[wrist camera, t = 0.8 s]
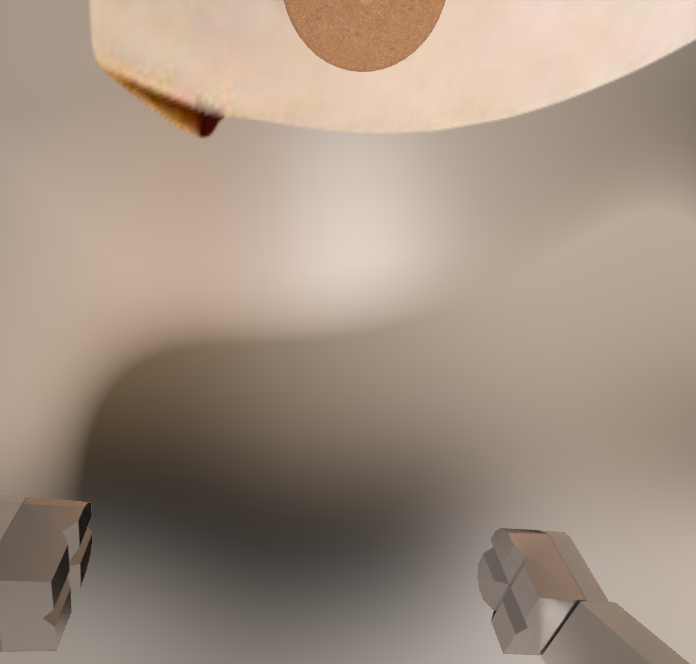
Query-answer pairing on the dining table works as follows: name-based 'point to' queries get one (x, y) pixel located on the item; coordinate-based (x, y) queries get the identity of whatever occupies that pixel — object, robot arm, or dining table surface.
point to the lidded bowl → (364, 29)
